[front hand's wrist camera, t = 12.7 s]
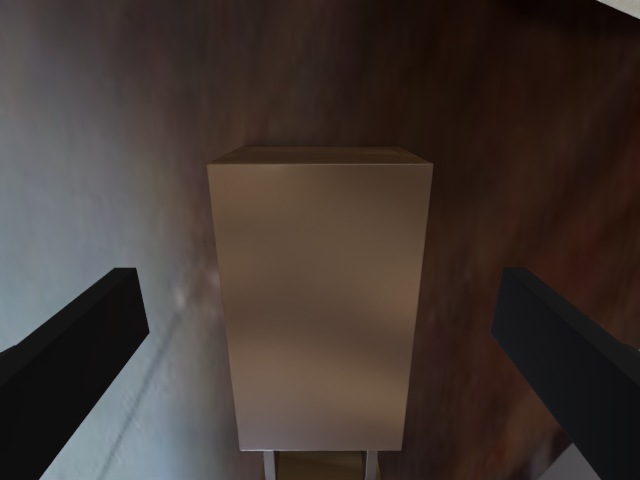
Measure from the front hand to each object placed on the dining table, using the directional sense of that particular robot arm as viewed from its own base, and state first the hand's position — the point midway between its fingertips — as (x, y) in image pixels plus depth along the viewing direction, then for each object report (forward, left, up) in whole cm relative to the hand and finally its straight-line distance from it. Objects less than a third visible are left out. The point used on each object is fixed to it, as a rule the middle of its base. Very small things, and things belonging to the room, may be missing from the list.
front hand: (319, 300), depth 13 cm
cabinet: (+5, +3, -14) cm, 15 cm away
